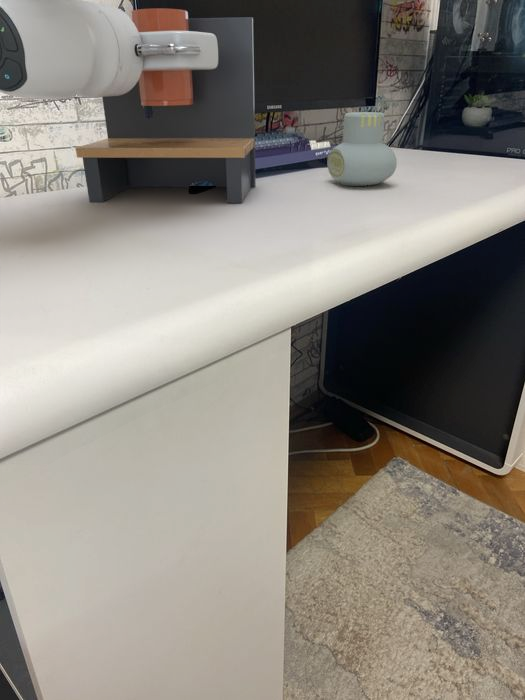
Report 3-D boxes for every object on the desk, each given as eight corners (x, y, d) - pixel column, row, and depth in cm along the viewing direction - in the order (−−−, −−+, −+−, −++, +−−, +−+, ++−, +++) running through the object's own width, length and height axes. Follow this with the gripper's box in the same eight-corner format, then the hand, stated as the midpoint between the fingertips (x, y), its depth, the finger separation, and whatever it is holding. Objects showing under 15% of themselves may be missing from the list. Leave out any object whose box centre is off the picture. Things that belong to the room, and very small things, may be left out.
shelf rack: (84, 202, 72) (53, 11, 62) (116, 185, 84) (95, 21, 74) (245, 204, 70) (240, 6, 60) (255, 185, 82) (253, 18, 72)
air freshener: (322, 178, 87) (325, 111, 82) (369, 176, 89) (374, 110, 84) (348, 191, 77) (353, 116, 73) (400, 188, 79) (408, 114, 75)
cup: (134, 106, 68) (123, 9, 63) (149, 104, 74) (140, 15, 70) (187, 105, 68) (180, 7, 63) (198, 103, 74) (192, 14, 69)
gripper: (183, 11, 53) (238, 23, 64) (21, 21, 60) (98, 30, 71) (187, 82, 56) (240, 81, 67) (33, 85, 62) (105, 83, 74)
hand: (166, 55), depth 69 cm, fingers closed on cup, 7 cm apart
